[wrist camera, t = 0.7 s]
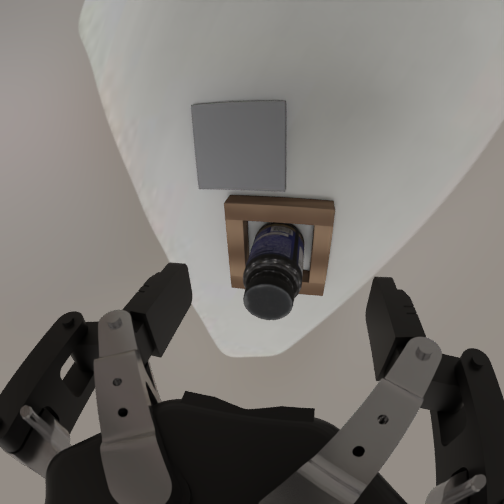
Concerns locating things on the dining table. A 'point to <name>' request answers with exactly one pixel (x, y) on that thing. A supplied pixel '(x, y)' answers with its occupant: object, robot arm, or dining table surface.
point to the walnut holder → (280, 211)
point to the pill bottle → (274, 271)
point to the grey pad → (240, 145)
